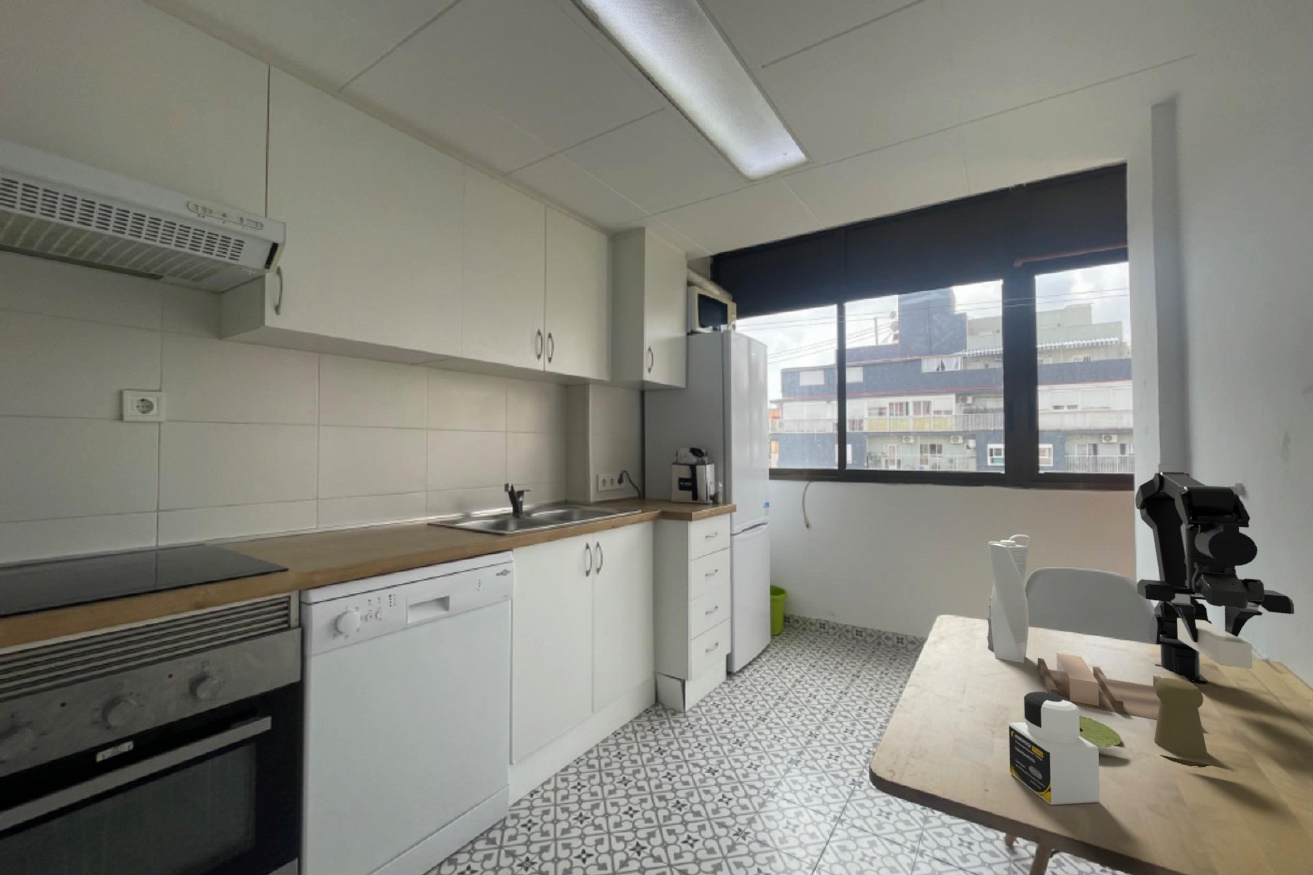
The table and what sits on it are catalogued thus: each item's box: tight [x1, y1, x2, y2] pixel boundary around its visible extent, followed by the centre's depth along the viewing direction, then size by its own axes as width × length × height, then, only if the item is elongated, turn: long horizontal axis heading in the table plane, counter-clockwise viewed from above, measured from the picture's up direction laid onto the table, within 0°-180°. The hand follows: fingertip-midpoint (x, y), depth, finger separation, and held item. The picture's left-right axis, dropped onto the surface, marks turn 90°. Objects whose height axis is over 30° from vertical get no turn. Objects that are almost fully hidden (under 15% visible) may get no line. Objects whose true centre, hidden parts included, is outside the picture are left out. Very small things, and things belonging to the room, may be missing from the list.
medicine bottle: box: [1008, 691, 1101, 806], centre depth 72 cm, size 7×7×12 cm
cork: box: [1153, 677, 1210, 768], centre depth 80 cm, size 6×6×11 cm
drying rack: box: [1037, 657, 1162, 721], centre depth 98 cm, size 17×19×3 cm
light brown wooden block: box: [1056, 652, 1099, 706], centre depth 100 cm, size 14×4×4 cm, turn 151°
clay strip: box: [1177, 618, 1253, 670], centre depth 94 cm, size 14×4×4 cm, turn 156°
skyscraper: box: [986, 534, 1031, 664], centre depth 116 cm, size 8×8×28 cm
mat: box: [1079, 714, 1122, 748], centre depth 84 cm, size 11×11×2 cm
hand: (1211, 643), depth 94 cm, fingers closed on clay strip, 4 cm apart
